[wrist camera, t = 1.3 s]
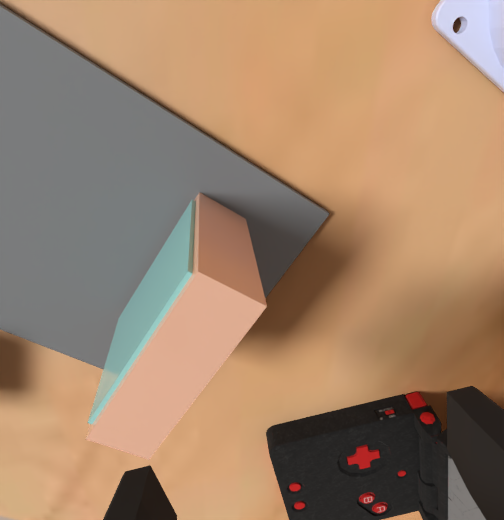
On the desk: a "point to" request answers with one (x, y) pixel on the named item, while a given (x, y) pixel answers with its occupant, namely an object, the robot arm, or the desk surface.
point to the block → (177, 329)
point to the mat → (108, 194)
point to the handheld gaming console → (369, 464)
